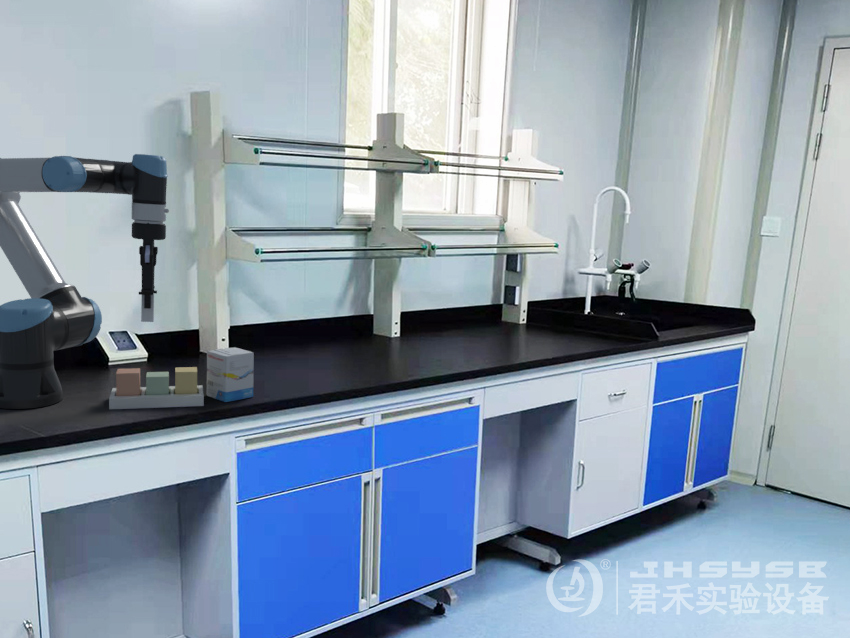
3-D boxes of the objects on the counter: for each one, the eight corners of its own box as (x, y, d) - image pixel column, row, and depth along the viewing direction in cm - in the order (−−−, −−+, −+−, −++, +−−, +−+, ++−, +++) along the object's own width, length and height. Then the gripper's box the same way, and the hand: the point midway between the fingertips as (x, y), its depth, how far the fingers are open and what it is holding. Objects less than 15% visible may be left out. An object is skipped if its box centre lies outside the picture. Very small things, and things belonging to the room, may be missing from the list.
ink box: (254, 397, 188) (254, 351, 186) (225, 402, 182) (225, 356, 180) (234, 390, 194) (235, 346, 192) (205, 395, 187) (205, 350, 186)
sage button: (146, 401, 176) (146, 377, 175) (147, 396, 181) (146, 372, 180) (168, 401, 178) (168, 376, 177) (168, 395, 183) (168, 371, 182)
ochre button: (175, 396, 178) (175, 372, 177) (175, 391, 183) (175, 367, 182) (197, 396, 180) (197, 371, 179) (196, 390, 185) (196, 367, 184)
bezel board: (109, 409, 172) (109, 398, 171) (112, 398, 181) (112, 387, 181) (203, 405, 178) (203, 395, 178) (202, 395, 188) (202, 385, 187)
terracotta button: (116, 398, 174) (116, 373, 173) (118, 393, 179) (117, 368, 178) (139, 397, 176) (139, 373, 175) (140, 392, 180) (140, 368, 180)
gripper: (165, 224, 170) (163, 326, 174) (166, 221, 182) (165, 316, 186) (129, 222, 168) (128, 325, 171) (133, 219, 180) (132, 316, 184)
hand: (147, 321), depth 179 cm, fingers closed
